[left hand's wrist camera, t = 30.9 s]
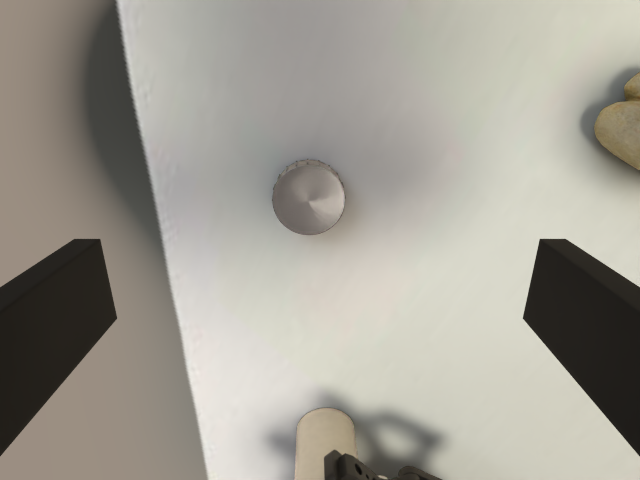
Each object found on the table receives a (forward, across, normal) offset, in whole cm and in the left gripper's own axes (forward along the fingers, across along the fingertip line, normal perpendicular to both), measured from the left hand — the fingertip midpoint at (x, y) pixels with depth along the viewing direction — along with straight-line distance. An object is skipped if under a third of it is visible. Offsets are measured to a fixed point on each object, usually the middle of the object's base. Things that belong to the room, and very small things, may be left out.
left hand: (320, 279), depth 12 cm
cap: (+11, -1, -1) cm, 11 cm away
